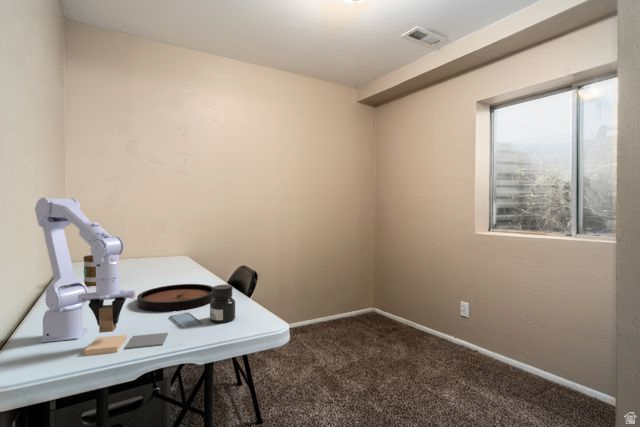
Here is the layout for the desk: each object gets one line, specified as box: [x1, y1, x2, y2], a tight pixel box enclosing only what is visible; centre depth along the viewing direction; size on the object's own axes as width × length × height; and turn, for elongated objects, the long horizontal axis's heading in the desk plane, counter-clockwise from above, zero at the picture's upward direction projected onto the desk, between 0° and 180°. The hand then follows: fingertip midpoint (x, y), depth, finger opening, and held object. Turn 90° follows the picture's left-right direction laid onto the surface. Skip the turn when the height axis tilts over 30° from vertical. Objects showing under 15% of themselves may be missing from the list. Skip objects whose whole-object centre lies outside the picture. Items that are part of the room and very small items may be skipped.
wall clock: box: [136, 283, 214, 313], centre depth 144 cm, size 31×4×31 cm
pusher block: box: [98, 304, 117, 334], centre depth 97 cm, size 3×3×7 cm
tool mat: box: [124, 332, 169, 350], centre depth 101 cm, size 10×9×1 cm
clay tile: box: [84, 334, 128, 356], centre depth 96 cm, size 8×2×9 cm
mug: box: [83, 254, 96, 287], centre depth 176 cm, size 20×14×15 cm
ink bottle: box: [209, 284, 236, 324], centre depth 120 cm, size 10×9×12 cm
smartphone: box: [168, 312, 203, 330], centre depth 119 cm, size 7×1×15 cm
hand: (108, 323), depth 98 cm, fingers closed on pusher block, 3 cm apart
